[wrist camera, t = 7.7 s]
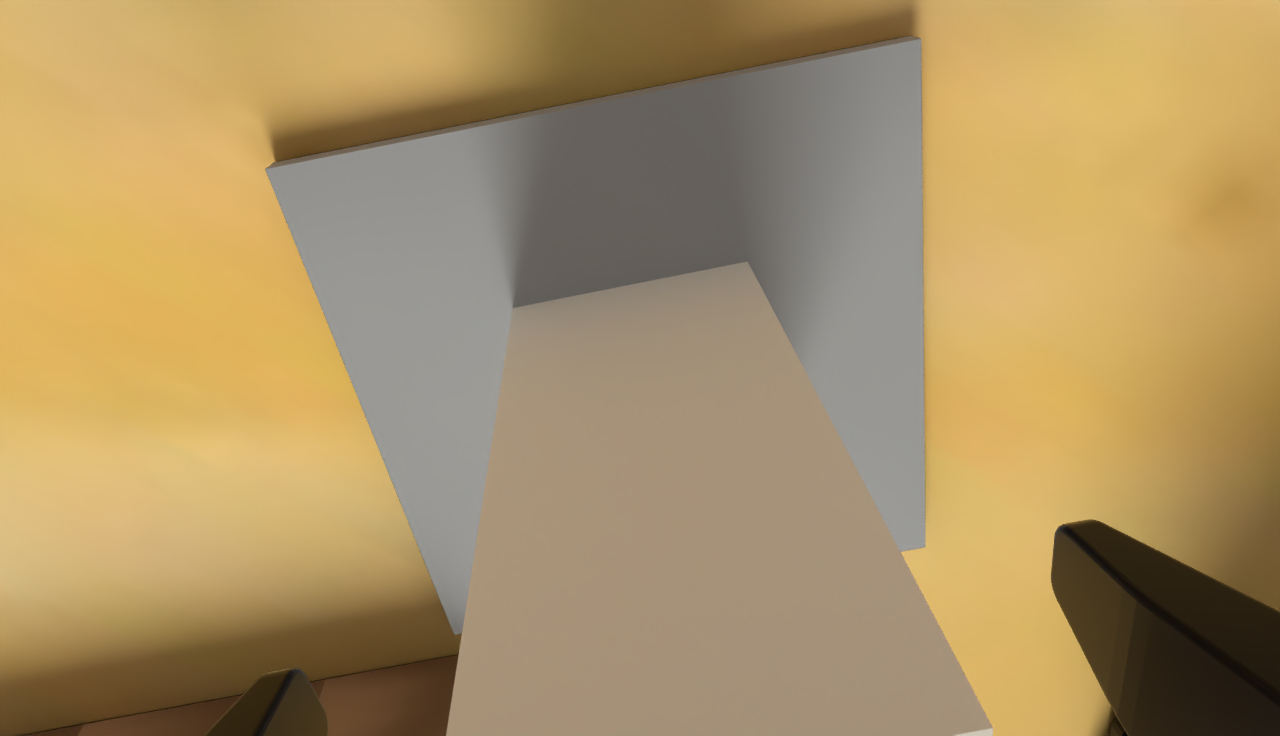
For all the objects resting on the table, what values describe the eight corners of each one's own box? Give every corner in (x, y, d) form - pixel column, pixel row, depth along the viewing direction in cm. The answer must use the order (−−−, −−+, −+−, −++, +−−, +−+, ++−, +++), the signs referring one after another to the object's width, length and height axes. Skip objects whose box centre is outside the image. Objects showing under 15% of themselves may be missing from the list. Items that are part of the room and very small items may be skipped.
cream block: (747, 261, 14) (993, 728, 6) (772, 455, 15) (980, 1004, 8) (512, 307, 14) (431, 831, 6) (565, 495, 16) (560, 1080, 8)
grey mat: (911, 35, 12) (921, 38, 12) (918, 534, 17) (925, 547, 17) (273, 162, 13) (264, 168, 12) (456, 621, 17) (454, 634, 17)
